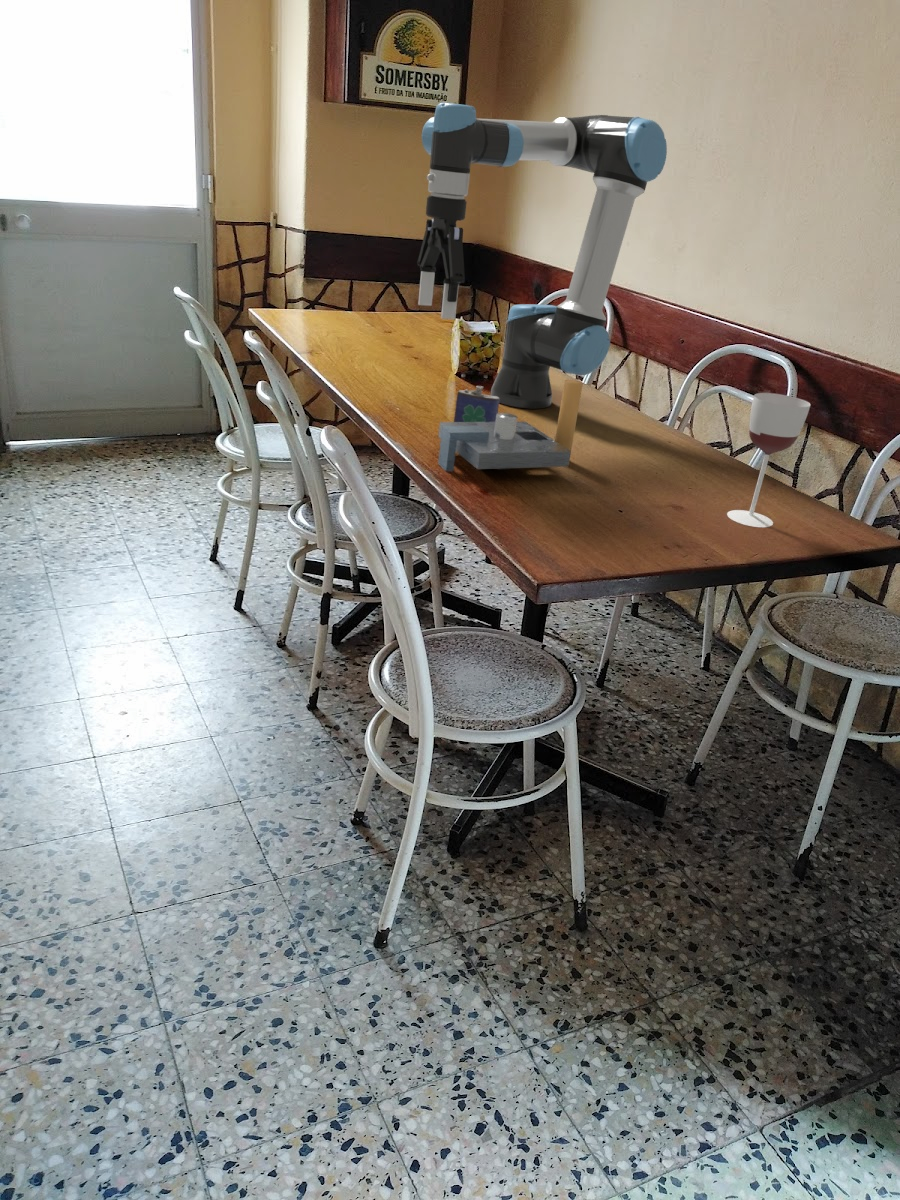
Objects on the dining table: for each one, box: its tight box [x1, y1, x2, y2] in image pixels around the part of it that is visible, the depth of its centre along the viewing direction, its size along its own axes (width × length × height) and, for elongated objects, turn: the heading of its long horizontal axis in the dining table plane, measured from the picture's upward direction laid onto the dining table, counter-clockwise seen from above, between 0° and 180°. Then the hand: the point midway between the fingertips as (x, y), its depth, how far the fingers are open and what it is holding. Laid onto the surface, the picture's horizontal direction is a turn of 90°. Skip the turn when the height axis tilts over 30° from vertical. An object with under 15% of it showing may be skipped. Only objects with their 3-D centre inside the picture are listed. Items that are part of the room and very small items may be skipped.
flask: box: [453, 385, 500, 422], centre depth 195 cm, size 9×3×11 cm, turn 74°
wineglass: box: [726, 392, 811, 528], centre depth 164 cm, size 9×10×22 cm
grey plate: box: [437, 412, 572, 472], centre depth 178 cm, size 22×19×10 cm
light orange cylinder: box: [554, 379, 584, 456], centre depth 185 cm, size 4×4×16 cm
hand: (436, 311), depth 184 cm, fingers open, 13 cm apart
